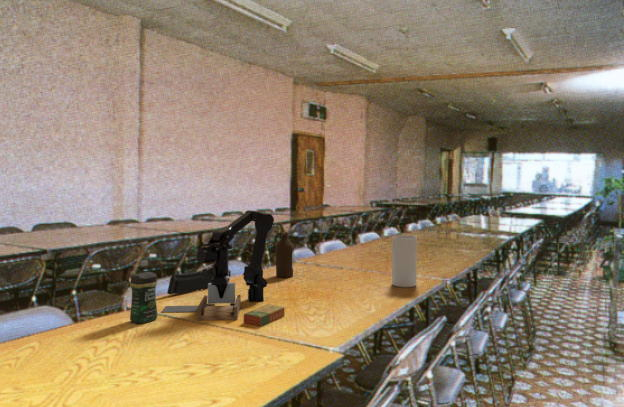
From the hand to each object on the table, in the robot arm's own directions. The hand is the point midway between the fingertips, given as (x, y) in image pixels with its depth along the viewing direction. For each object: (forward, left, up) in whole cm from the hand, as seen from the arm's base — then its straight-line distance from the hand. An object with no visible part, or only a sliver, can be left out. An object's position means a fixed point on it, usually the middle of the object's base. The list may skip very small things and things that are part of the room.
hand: (221, 297), depth 198 cm
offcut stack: (0, +11, -5) cm, 12 cm away
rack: (0, +6, -5) cm, 8 cm away
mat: (+16, 0, -5) cm, 17 cm away
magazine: (+16, -33, -5) cm, 38 cm away
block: (0, 0, -2) cm, 2 cm away
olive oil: (-28, -64, -5) cm, 70 cm away
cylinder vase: (-89, -39, -5) cm, 97 cm away
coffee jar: (+28, +14, -5) cm, 32 cm away
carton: (-18, +16, -6) cm, 25 cm away
